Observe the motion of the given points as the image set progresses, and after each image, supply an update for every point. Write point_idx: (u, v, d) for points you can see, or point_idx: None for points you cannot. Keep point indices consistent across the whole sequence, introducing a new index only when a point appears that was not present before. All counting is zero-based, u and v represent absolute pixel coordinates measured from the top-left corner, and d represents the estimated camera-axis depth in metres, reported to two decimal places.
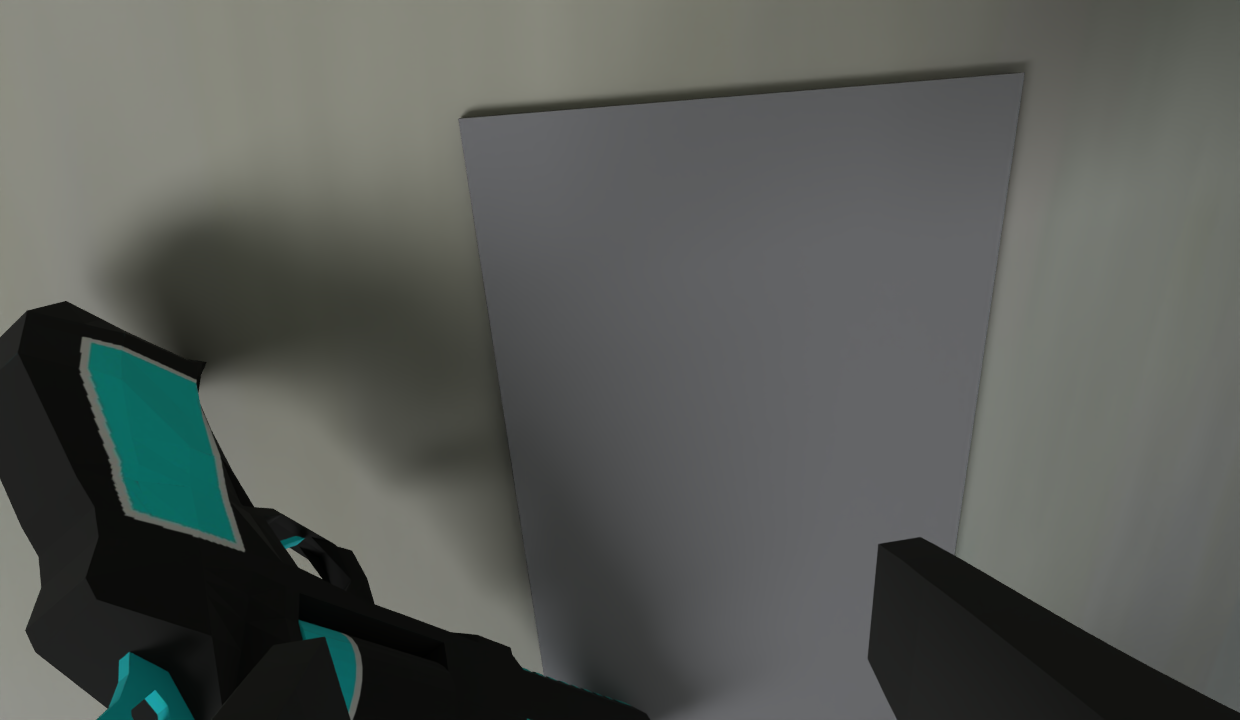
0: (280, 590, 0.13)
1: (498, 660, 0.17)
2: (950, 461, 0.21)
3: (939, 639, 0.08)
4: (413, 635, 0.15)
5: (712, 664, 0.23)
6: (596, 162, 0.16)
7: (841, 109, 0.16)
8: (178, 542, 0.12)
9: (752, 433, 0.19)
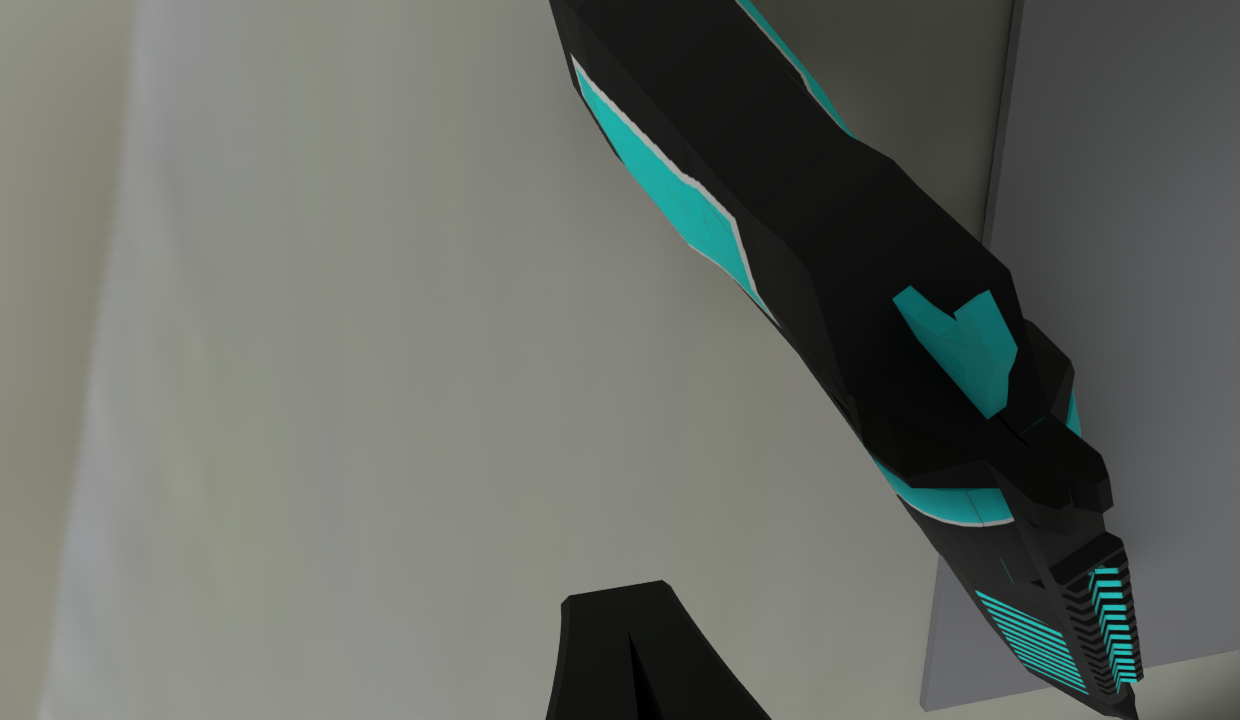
0: None
1: None
2: None
3: (640, 695, 0.07)
4: None
5: (1126, 519, 0.19)
6: None
7: None
8: None
9: None
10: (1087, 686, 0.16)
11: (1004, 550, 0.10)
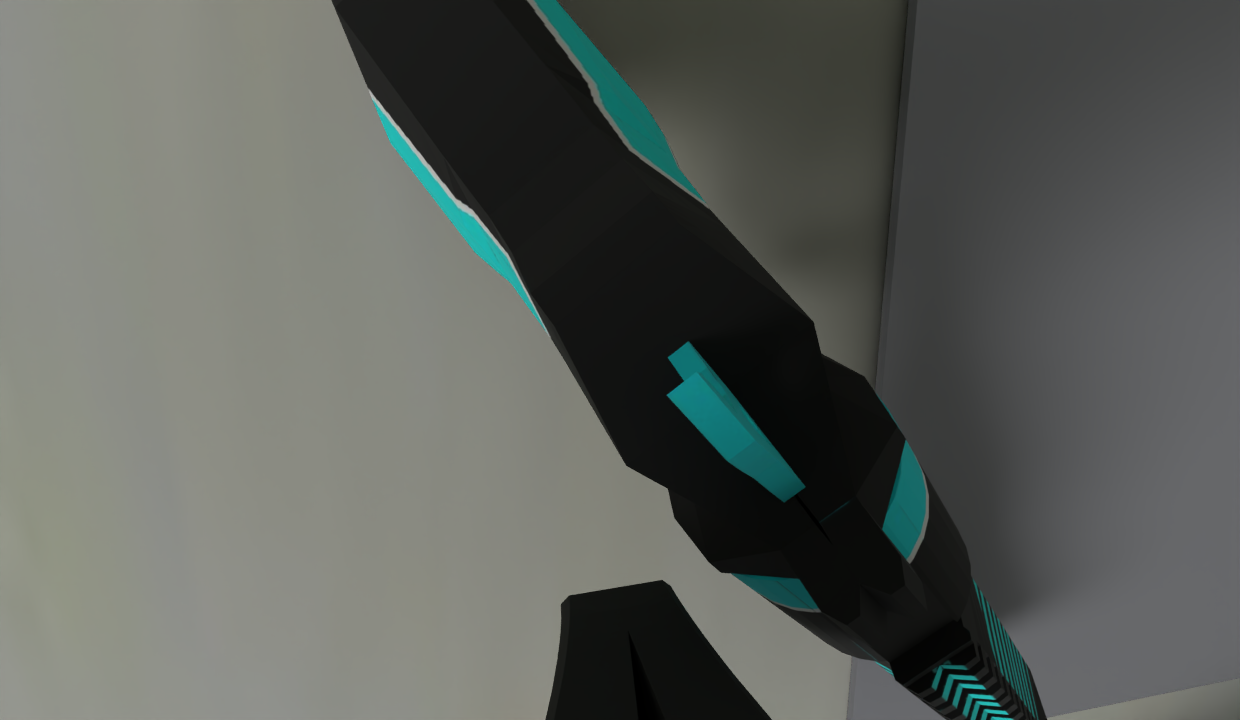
0: None
1: None
2: None
3: (640, 695, 0.07)
4: None
5: (1058, 556, 0.18)
6: None
7: None
8: (698, 205, 0.08)
9: (1184, 235, 0.15)
10: None
11: None
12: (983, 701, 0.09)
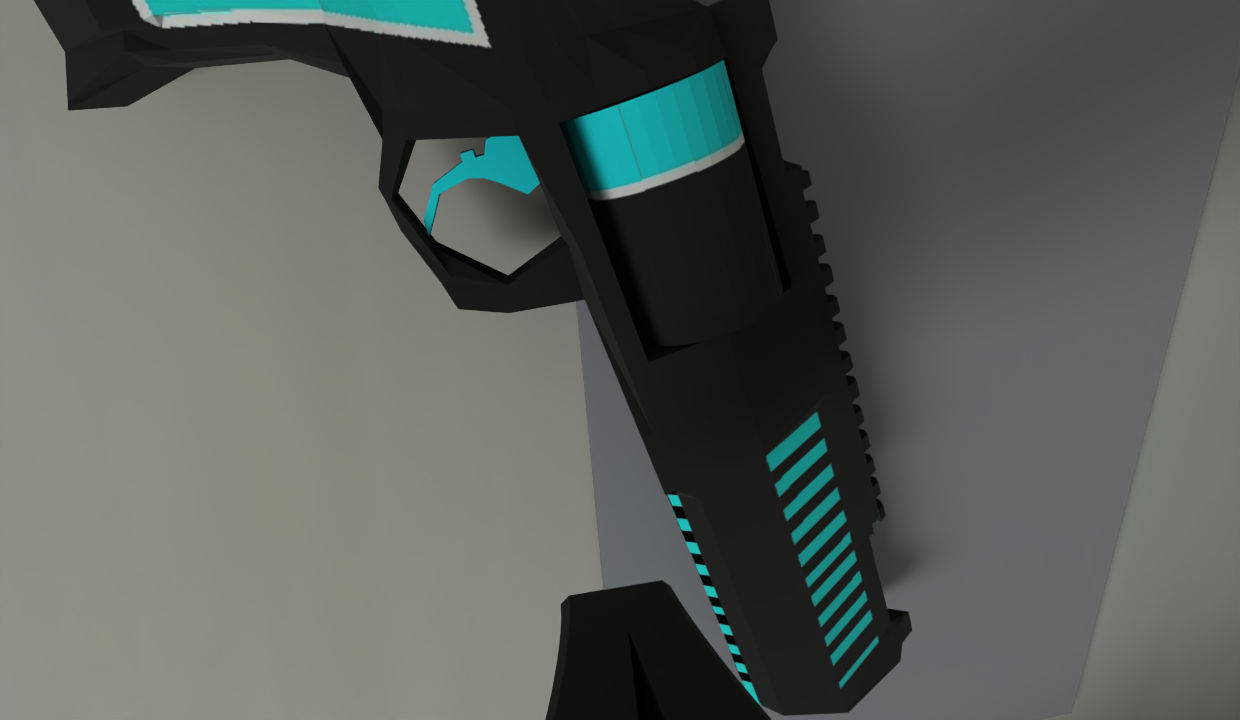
0: None
1: None
2: (1151, 322, 0.16)
3: (640, 695, 0.07)
4: None
5: None
6: None
7: None
8: None
9: (903, 267, 0.14)
10: (871, 605, 0.15)
11: (758, 207, 0.11)
12: None
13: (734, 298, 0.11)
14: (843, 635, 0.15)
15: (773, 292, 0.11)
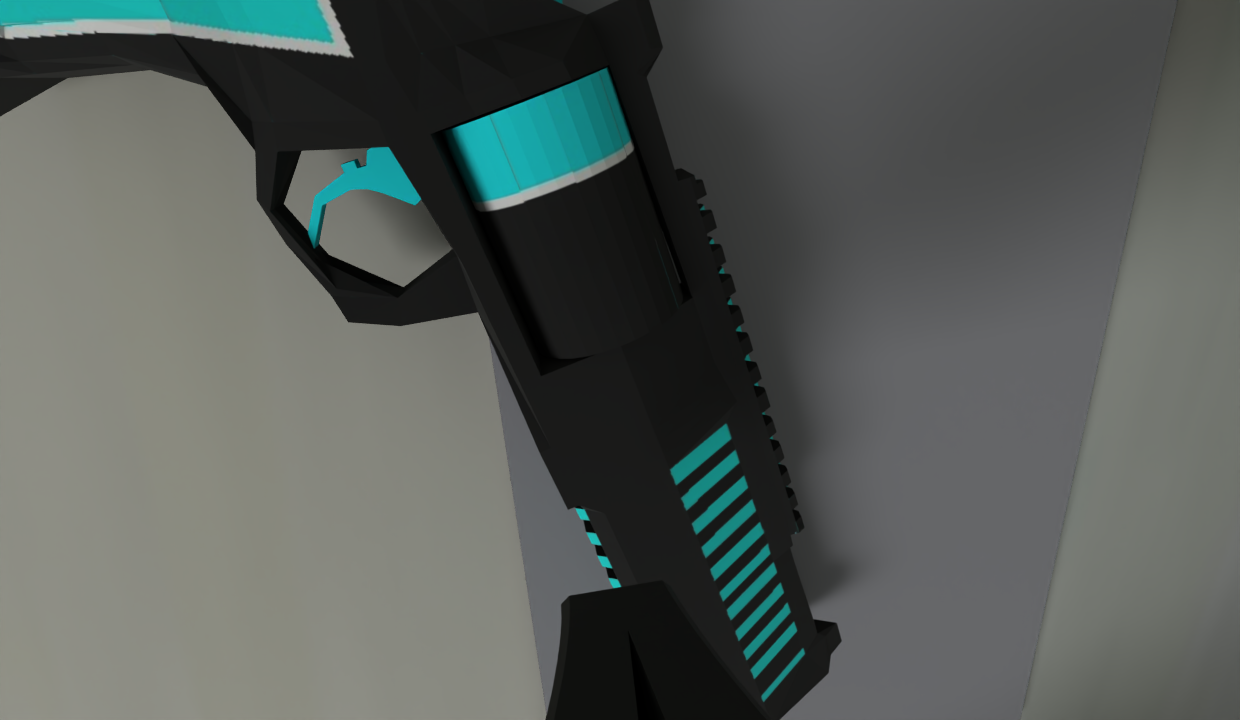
0: None
1: None
2: (1082, 330, 0.16)
3: (640, 695, 0.07)
4: None
5: None
6: None
7: None
8: None
9: (822, 275, 0.14)
10: (795, 617, 0.15)
11: (650, 217, 0.11)
12: (727, 303, 0.12)
13: (624, 310, 0.11)
14: (764, 648, 0.14)
15: (669, 304, 0.11)
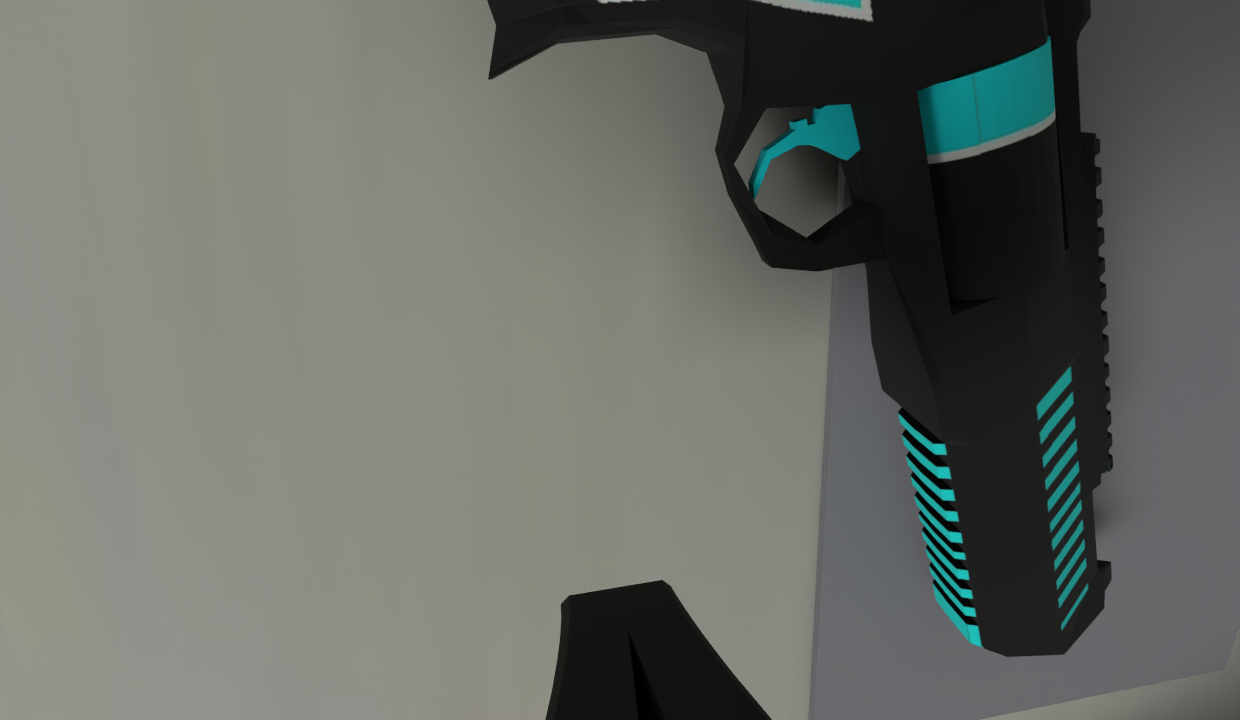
0: None
1: None
2: None
3: (640, 695, 0.07)
4: None
5: None
6: None
7: None
8: None
9: (1130, 234, 0.15)
10: (1086, 553, 0.16)
11: None
12: None
13: (1040, 254, 0.12)
14: (1067, 580, 0.16)
15: (1062, 251, 0.12)
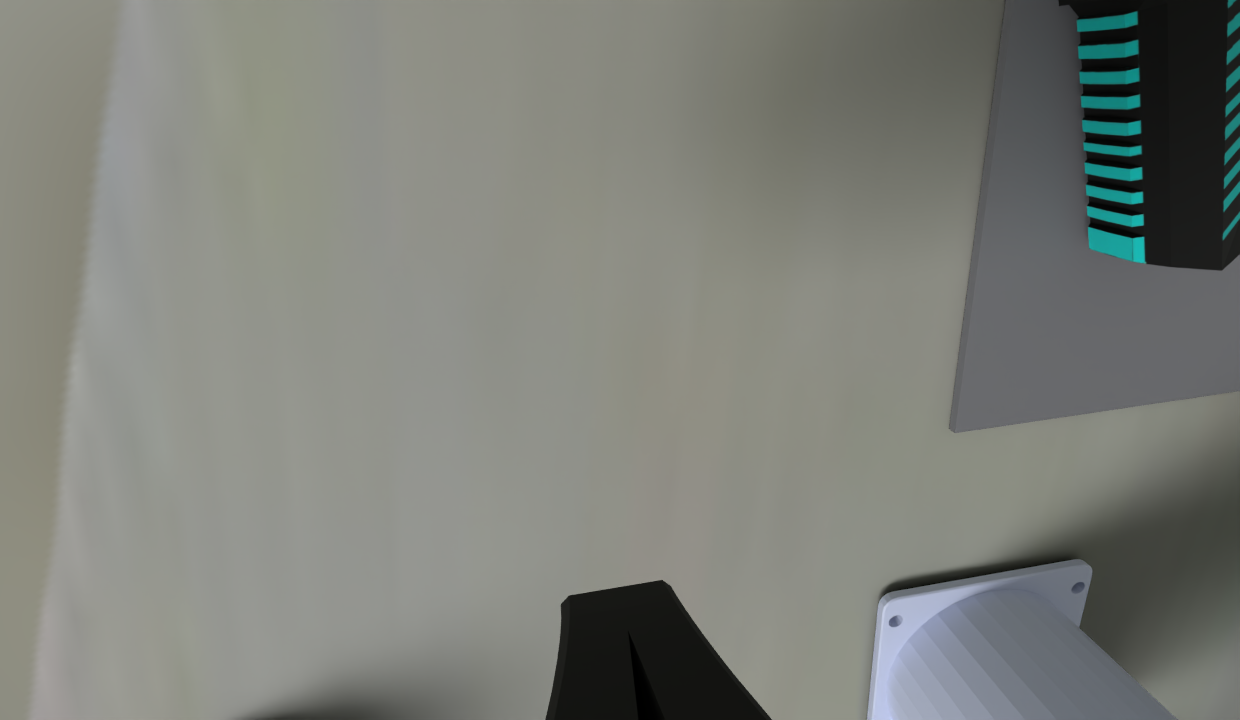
0: None
1: None
2: None
3: (640, 695, 0.07)
4: None
5: None
6: None
7: None
8: None
9: None
10: None
11: None
12: None
13: None
14: (1230, 187, 0.17)
15: None
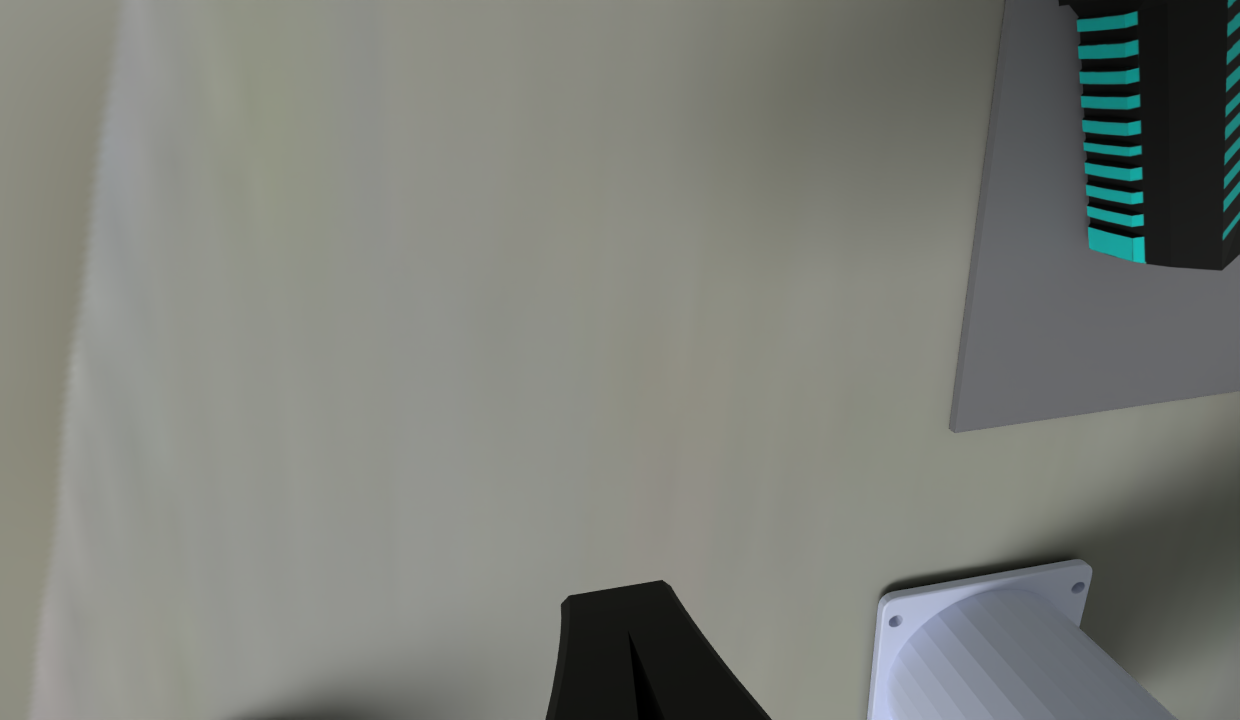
0: None
1: None
2: None
3: (640, 695, 0.07)
4: None
5: None
6: None
7: None
8: None
9: None
10: None
11: None
12: None
13: None
14: (1230, 187, 0.17)
15: None
